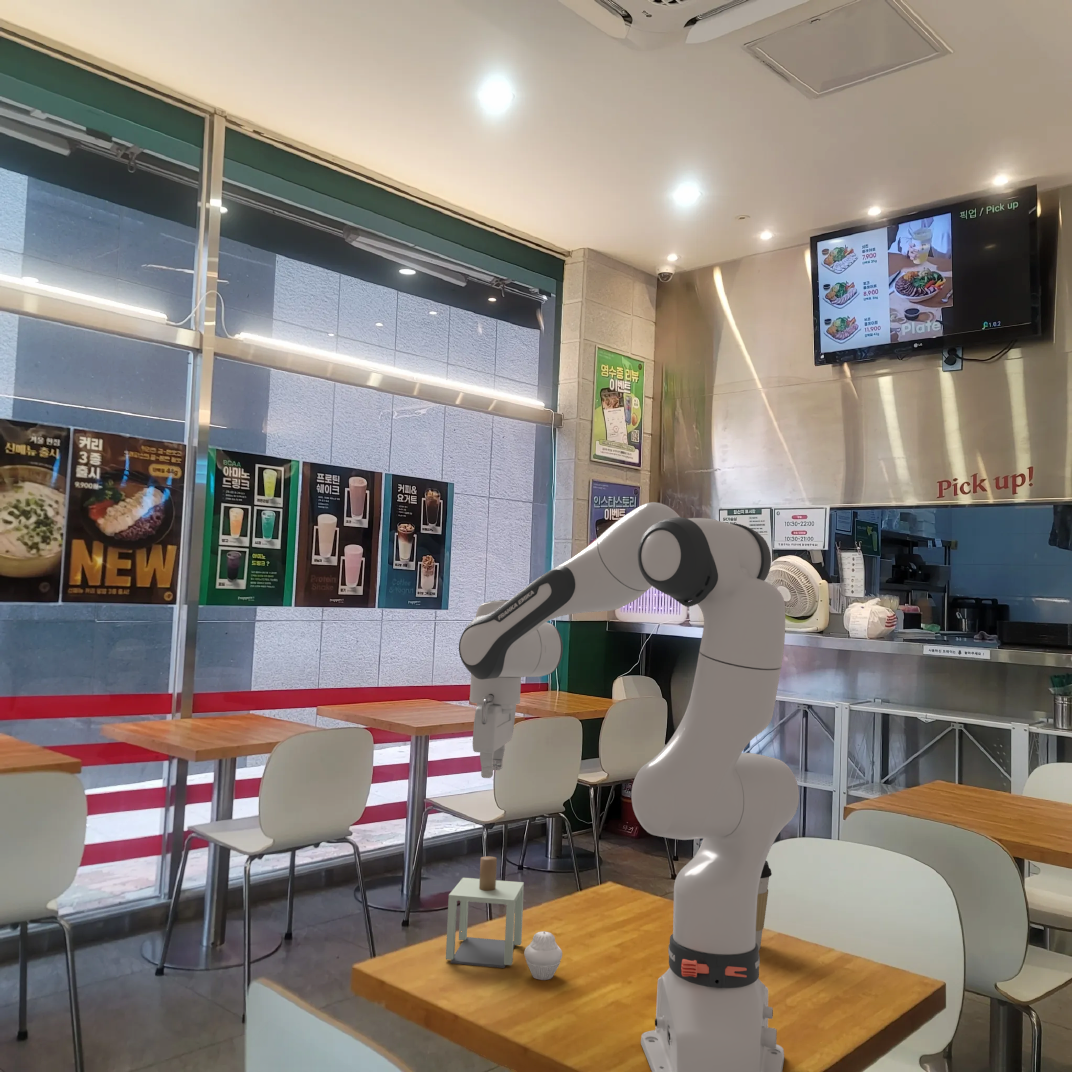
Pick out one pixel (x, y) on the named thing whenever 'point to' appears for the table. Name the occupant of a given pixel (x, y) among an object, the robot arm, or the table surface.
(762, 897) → the coffee cup
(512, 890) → the cover
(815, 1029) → the table surface
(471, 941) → the mat
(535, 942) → the muffin
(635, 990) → the table surface
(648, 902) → the table surface
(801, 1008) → the table surface
